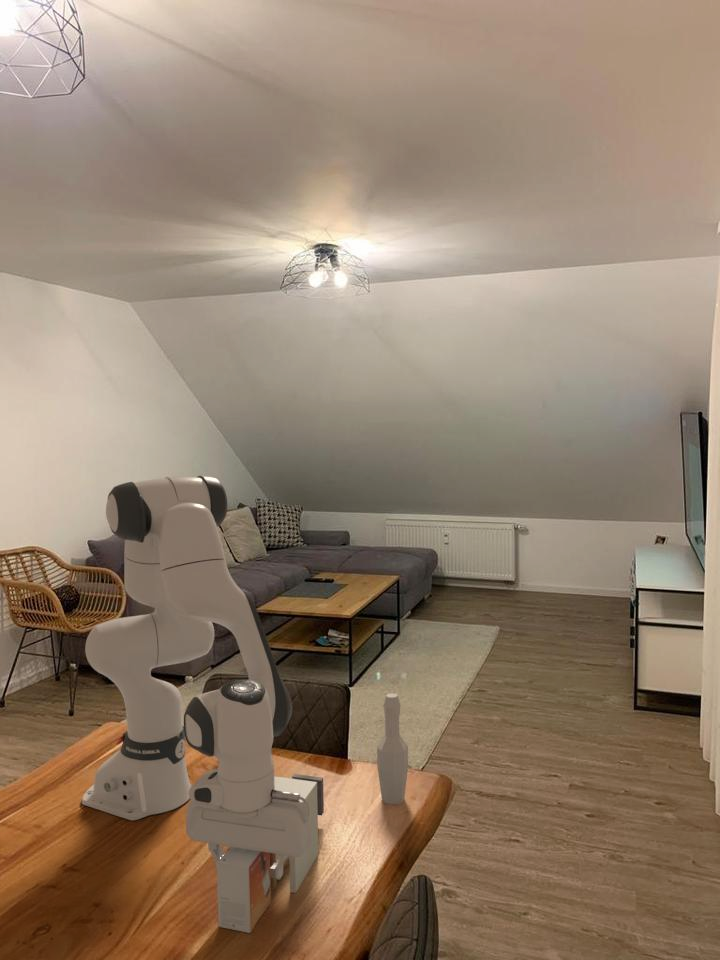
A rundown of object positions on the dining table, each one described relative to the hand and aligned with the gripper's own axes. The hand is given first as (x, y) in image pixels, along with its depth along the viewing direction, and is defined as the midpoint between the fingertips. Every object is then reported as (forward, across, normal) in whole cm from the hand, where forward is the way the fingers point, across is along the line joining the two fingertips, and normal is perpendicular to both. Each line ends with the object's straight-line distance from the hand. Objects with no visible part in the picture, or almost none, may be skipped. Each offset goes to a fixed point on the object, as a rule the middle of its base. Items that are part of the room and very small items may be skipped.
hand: (249, 872), depth 110 cm
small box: (+7, +1, 0) cm, 7 cm away
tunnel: (+7, 0, -12) cm, 14 cm away
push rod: (+5, 0, -16) cm, 16 cm away
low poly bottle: (+7, -14, -40) cm, 42 cm away
